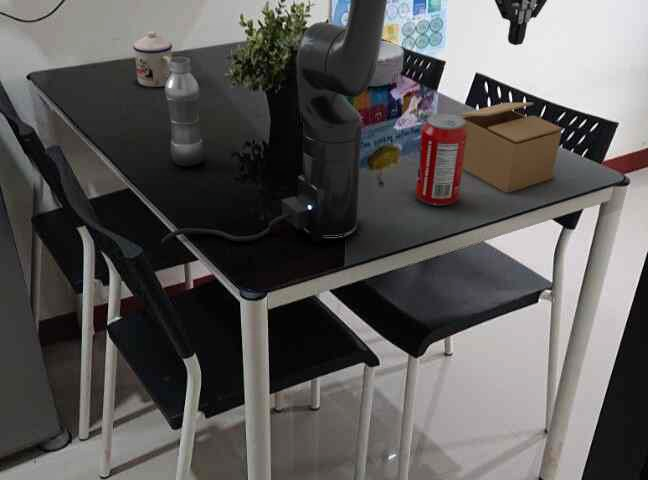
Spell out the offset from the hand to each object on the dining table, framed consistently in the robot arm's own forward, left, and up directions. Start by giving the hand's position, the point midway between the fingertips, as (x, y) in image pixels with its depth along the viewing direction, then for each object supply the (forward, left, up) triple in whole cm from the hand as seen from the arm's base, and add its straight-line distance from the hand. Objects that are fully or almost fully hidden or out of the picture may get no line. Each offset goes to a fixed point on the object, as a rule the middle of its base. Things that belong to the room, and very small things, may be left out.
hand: (515, 43), depth 140 cm
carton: (0, -2, -24) cm, 24 cm away
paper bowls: (+9, +53, -24) cm, 59 cm away
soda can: (-19, -5, -24) cm, 31 cm away
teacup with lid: (-37, +77, -24) cm, 89 cm away
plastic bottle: (-51, +32, -24) cm, 65 cm away
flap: (0, +2, -13) cm, 13 cm away
